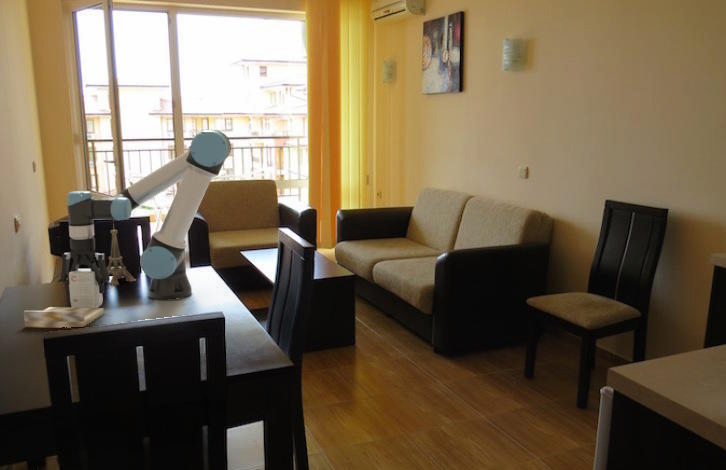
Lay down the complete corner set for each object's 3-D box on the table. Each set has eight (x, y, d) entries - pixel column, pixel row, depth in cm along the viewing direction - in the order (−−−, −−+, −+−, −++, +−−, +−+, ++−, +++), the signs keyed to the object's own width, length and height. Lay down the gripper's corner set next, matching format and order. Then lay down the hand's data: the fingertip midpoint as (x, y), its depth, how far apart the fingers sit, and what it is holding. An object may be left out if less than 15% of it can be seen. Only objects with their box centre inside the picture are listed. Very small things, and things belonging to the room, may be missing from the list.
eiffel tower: (136, 280, 234) (133, 219, 229) (113, 285, 225) (109, 223, 220) (120, 276, 239) (116, 217, 235) (97, 281, 230) (93, 220, 226)
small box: (102, 304, 201) (100, 268, 199) (95, 309, 195) (93, 272, 192) (78, 304, 200) (75, 268, 198) (71, 310, 194) (68, 272, 192)
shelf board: (103, 313, 190) (102, 299, 190) (82, 328, 176) (81, 312, 176) (50, 312, 191) (48, 298, 190) (24, 327, 177) (23, 311, 176)
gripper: (118, 235, 197) (122, 299, 201) (56, 234, 197) (61, 298, 201) (108, 239, 189) (112, 305, 193) (44, 238, 189) (50, 304, 194)
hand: (86, 301), depth 197 cm, fingers closed on small box, 8 cm apart
